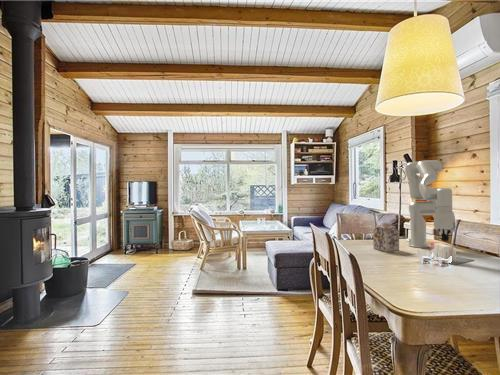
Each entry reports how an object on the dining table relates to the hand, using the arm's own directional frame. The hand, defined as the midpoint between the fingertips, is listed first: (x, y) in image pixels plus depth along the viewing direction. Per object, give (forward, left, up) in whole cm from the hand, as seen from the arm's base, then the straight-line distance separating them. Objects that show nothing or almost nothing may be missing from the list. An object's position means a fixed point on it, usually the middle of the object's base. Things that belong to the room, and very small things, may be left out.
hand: (445, 240), depth 169 cm
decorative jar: (-34, -7, -11) cm, 36 cm away
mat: (+3, 0, -11) cm, 11 cm away
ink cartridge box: (-6, -1, -6) cm, 8 cm away
